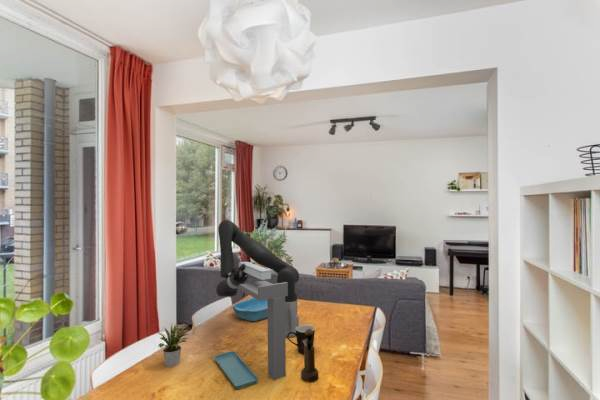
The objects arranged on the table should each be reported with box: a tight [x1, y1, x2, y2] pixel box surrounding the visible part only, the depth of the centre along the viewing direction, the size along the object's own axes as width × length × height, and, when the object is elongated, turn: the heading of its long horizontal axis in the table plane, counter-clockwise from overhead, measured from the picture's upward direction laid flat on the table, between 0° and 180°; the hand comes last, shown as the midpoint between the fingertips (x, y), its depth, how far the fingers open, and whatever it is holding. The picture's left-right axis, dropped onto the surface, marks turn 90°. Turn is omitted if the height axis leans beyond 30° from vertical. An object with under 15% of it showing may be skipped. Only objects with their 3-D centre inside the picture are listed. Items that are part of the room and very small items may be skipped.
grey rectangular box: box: [238, 261, 272, 281], centre depth 136 cm, size 24×4×3 cm, turn 32°
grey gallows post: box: [238, 280, 288, 381], centre depth 128 cm, size 20×12×35 cm, turn 32°
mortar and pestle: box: [300, 329, 319, 383], centre depth 120 cm, size 7×6×18 cm
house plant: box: [157, 322, 189, 368], centre depth 130 cm, size 14×14×16 cm
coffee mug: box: [286, 324, 316, 356], centre depth 142 cm, size 12×9×10 cm
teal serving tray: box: [213, 350, 260, 390], centre depth 125 cm, size 26×9×2 cm, turn 32°
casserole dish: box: [232, 297, 268, 322], centre depth 194 cm, size 37×22×7 cm, turn 144°
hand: (249, 265), depth 140 cm, fingers closed on grey rectangular box, 4 cm apart
